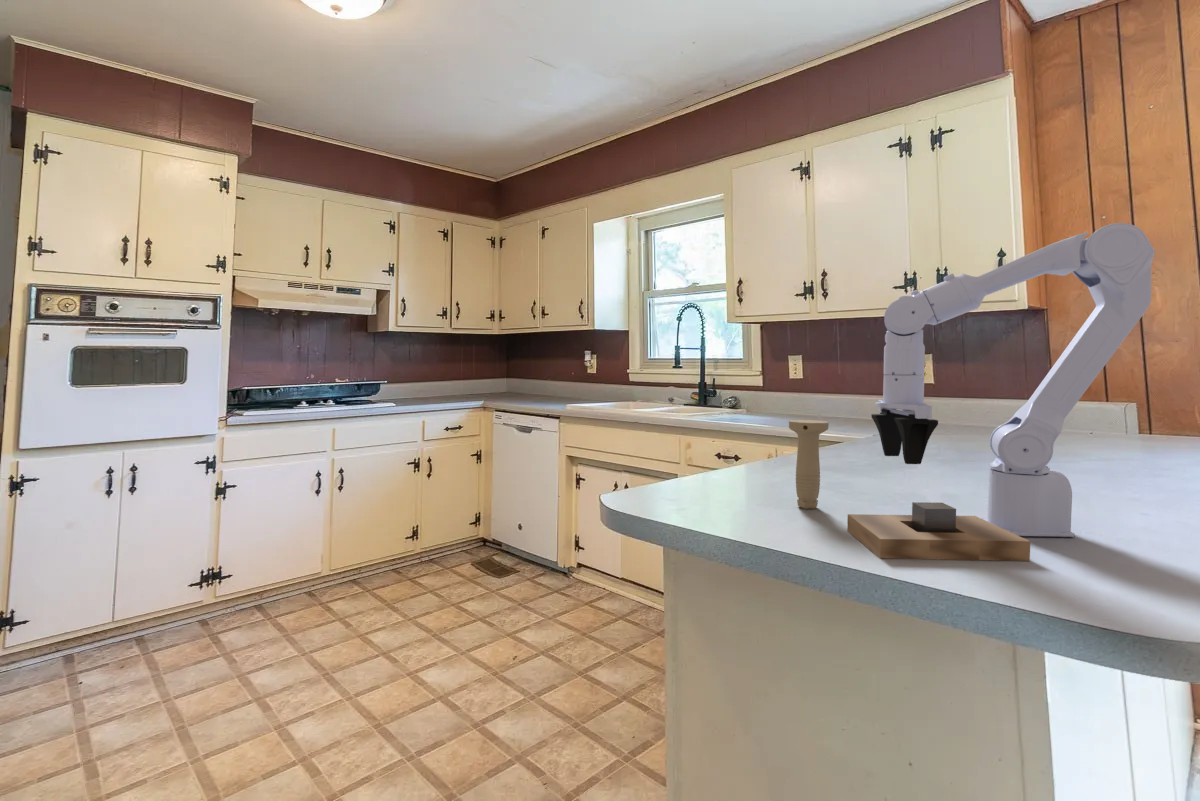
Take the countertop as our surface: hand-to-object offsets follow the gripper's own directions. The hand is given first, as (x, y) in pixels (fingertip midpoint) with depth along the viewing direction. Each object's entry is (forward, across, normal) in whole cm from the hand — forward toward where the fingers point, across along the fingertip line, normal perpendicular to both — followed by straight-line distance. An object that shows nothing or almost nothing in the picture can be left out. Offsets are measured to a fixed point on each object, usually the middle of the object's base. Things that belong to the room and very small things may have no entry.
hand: (901, 459), depth 90 cm
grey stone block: (+10, +14, -2) cm, 17 cm away
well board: (+9, +14, -2) cm, 17 cm away
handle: (+10, -6, -13) cm, 17 cm away
